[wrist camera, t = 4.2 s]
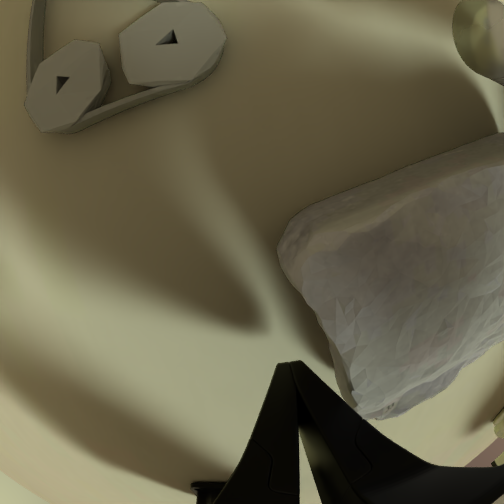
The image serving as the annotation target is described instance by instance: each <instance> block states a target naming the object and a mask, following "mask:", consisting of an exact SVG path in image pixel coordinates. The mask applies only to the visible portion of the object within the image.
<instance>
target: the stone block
mask: <svg viewBox="0 0 504 504" xmlns="http://www.w3.org/2000/svg"><path fill="white" fill-rule="evenodd" d="M277 255H278V257H279V263H280V266H281V268H282V270H283V272H284V274H285V275H286V277H287V278H288V280H289V281H290V283H291V284H292V285H293V286H294V287H295V288H296V289H297V290H298V291H299V292H300V293H301V294H302V296H303V298H304V300H305V301H306V303H307V304H308V305H309V306H310V307H311V308H312V309H313V310H314V312H315V313H316V316H317V321H318V324H319V325H320V326H321V327H322V329H323V331H324V332H325V334H326V337H327V339H328V340H329V350H330V353H331V356H332V359H333V363H334V369H335V377H336V381H337V384H338V387H339V389H340V392H341V395H342V397H343V398H344V400H345V401H346V403H347V404H348V405H349V406H350V407H352V408H353V409H354V410H355V411H356V412H357V413H358V414H359V415H360V416H361V417H362V419H365V420H369V419H374V418H375V419H376V420H383V419H387V418H393V417H398V416H400V415H402V414H404V413H405V412H407V411H408V410H410V409H411V408H413V407H414V406H416V405H418V404H420V403H422V402H423V401H425V400H427V399H430V398H432V397H434V396H435V395H437V394H438V393H440V392H441V391H443V390H444V389H446V388H447V387H448V386H449V385H450V384H451V383H452V382H453V381H454V380H455V378H456V377H457V376H458V374H459V372H460V370H461V369H462V368H463V367H465V366H467V365H468V364H470V363H472V362H474V361H475V360H476V359H478V358H479V357H480V356H482V355H483V354H484V353H485V352H486V351H488V350H489V349H490V348H491V347H492V346H494V345H495V344H497V343H499V342H501V341H503V340H504V133H496V134H494V135H491V136H487V137H484V138H481V139H479V140H476V141H474V142H472V143H468V144H465V145H463V146H460V147H458V148H455V149H453V150H450V151H447V152H444V153H441V154H438V155H436V156H433V157H431V158H428V159H426V160H423V161H421V162H418V163H415V164H412V165H410V166H407V167H404V168H402V169H400V170H397V171H395V172H392V173H390V174H388V175H386V176H384V177H382V178H379V179H376V180H374V181H371V182H368V183H365V184H363V185H360V186H357V187H355V188H352V189H349V190H347V191H345V192H342V193H339V194H337V195H334V196H331V197H329V198H327V199H324V200H322V201H320V202H317V203H315V204H312V205H309V206H308V207H306V208H304V209H303V210H302V211H300V212H299V213H298V214H296V215H295V216H294V217H293V218H292V219H291V220H290V221H289V223H288V225H287V227H286V229H285V231H284V233H283V235H282V238H281V239H280V241H279V243H278V245H277Z"/></svg>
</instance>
